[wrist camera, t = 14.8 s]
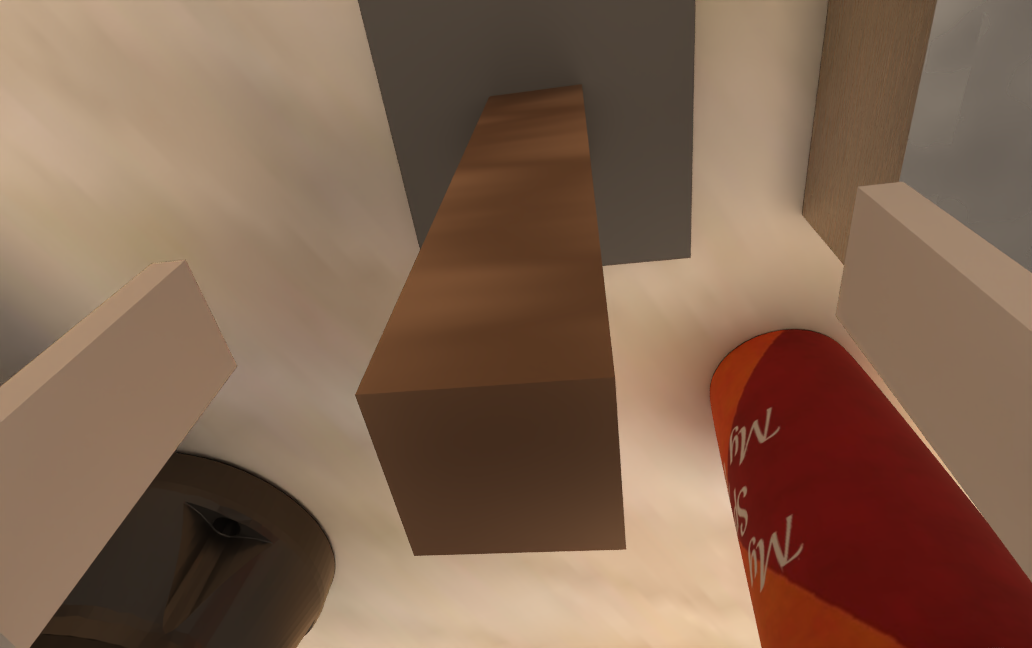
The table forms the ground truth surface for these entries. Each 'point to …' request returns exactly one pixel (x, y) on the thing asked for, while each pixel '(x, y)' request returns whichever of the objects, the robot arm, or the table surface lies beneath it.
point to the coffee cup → (852, 511)
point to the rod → (505, 350)
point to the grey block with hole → (926, 114)
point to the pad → (542, 65)
